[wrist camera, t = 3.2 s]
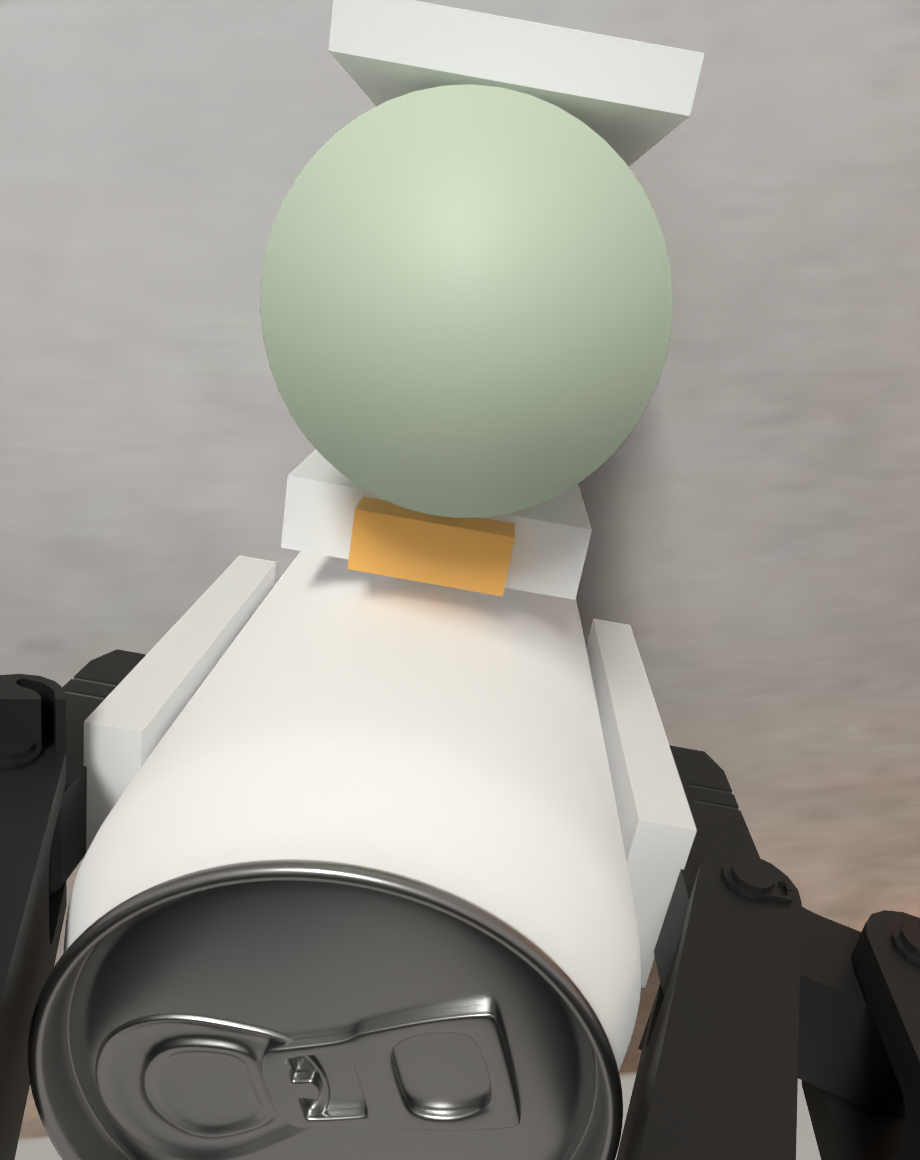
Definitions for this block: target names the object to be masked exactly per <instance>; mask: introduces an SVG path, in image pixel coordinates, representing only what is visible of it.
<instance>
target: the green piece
mask: <svg viewBox="0 0 920 1160" xmlns="http://www.w3.org/2000/svg"><path fill="white" fill-rule="evenodd" d="M260 312H261V321H262V331H263V340H264V344H265V348H266V352H267V357H268V361H269V365H270V368H271V371H272V374H273V376H274V379H275V382H276V385H277V387H278V390H279V392H280V394H281V396H282V398H283V400H284V402H285V404H286V406H287V408H288V410H289V412H290V414H291V416H292V417H293V419H294V420H295V422H296V423H297V425H298V426H299V428H300V429H301V431H302V432H303V434H304V435H305V437H306V438H307V439H308V440H309V441H310V442H311V444H312V445H313V446H314V447H315V448H316V449H317V451H318V452H319V453H320V454H321V455H322V456H323V457H324V458H325V459H326V460H327V461H328V462H329V463H330V464H331V465H333V466H334V467H335V468H336V469H337V470H338V471H339V472H340V473H341V474H343V475H344V476H346V477H347V478H348V479H350V480H351V481H353V482H354V483H356V484H357V485H358V486H360V487H361V488H363V489H364V490H366V491H368V492H370V493H372V494H374V495H376V496H378V497H380V498H381V499H383V500H385V501H388V502H391V503H393V504H396V505H398V506H401V507H404V508H406V509H409V510H413V511H418V512H422V513H426V514H430V515H436V516H445V517H454V518H482V517H489V516H496V515H504V514H509V513H512V512H516V511H520V510H523V509H527V508H531V507H533V506H535V505H538V504H540V503H543V502H545V501H548V500H550V499H552V498H555V497H556V496H558V495H560V494H562V493H563V492H565V491H567V490H569V489H570V488H572V487H574V486H576V485H577V484H578V483H580V482H581V481H582V480H584V479H585V478H586V477H588V476H589V475H590V474H592V473H593V472H594V471H596V470H597V469H598V468H599V467H600V466H601V465H602V464H603V463H604V462H605V461H606V460H607V459H608V458H609V457H611V456H612V455H613V454H614V453H615V452H616V450H617V449H618V448H619V447H620V446H621V444H622V443H623V442H624V441H625V439H626V438H627V437H628V436H629V434H630V433H631V432H632V431H633V429H634V427H635V426H636V424H637V423H638V421H639V419H640V418H641V416H642V414H643V413H644V411H645V410H646V408H647V406H648V404H649V402H650V399H651V397H652V395H653V393H654V391H655V388H656V386H657V384H658V381H659V378H660V375H661V372H662V369H663V366H664V363H665V359H666V356H667V351H668V345H669V340H670V334H671V329H672V312H673V290H672V275H671V267H670V262H669V258H668V253H667V248H666V243H665V239H664V237H663V234H662V231H661V228H660V225H659V222H658V219H657V216H656V213H655V211H654V209H653V207H652V205H651V203H650V201H649V199H648V197H647V195H646V193H645V191H644V189H643V187H642V186H641V184H640V183H639V182H638V180H637V179H636V177H635V176H634V174H633V173H632V171H631V170H630V168H629V167H628V165H627V164H626V163H625V161H624V160H623V159H622V158H621V157H620V156H619V155H618V154H617V153H616V152H615V150H614V149H613V148H612V147H611V146H610V145H609V144H608V143H607V142H606V141H605V140H604V139H603V138H602V137H601V136H599V135H598V134H597V133H596V132H595V131H593V130H592V129H591V128H590V127H588V126H587V125H586V124H585V123H584V122H582V121H581V120H579V119H577V118H576V117H574V116H572V115H571V114H569V113H568V112H566V111H564V110H563V109H561V108H559V107H558V106H556V105H553V104H551V103H548V102H546V101H544V100H541V99H539V98H537V97H534V96H532V95H529V94H525V93H522V92H518V91H514V90H510V89H506V88H502V87H494V86H484V85H474V84H468V85H446V86H439V87H434V88H428V89H423V90H418V91H414V92H411V93H408V94H405V95H402V96H400V97H397V98H394V99H391V100H388V101H386V102H384V103H382V104H380V105H378V106H377V107H375V108H373V109H371V110H369V111H367V112H365V113H363V114H362V115H360V116H359V117H357V118H356V119H354V120H353V121H352V122H350V123H349V124H348V125H346V126H345V127H344V128H342V129H341V130H339V131H338V132H337V133H336V134H335V135H334V136H333V137H332V138H331V139H330V140H329V141H328V142H327V143H326V144H324V145H323V146H322V147H321V148H320V149H319V150H318V151H317V152H316V153H315V155H314V156H313V157H312V159H311V160H310V161H309V162H308V164H307V165H306V166H305V168H304V169H303V170H302V171H301V173H300V174H299V175H298V177H297V179H296V180H295V182H294V184H293V185H292V187H291V189H290V191H289V192H288V194H287V196H286V198H285V199H284V201H283V203H282V206H281V208H280V211H279V213H278V215H277V218H276V220H275V223H274V225H273V227H272V231H271V235H270V238H269V242H268V246H267V249H266V253H265V258H264V265H263V272H262V279H261V309H260Z"/></svg>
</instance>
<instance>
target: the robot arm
mask: <svg viewBox="0 0 920 1160" xmlns="http://www.w3.org/2000/svg"><path fill="white" fill-rule="evenodd" d="M275 572H276V562H274V561H268V560H263V559H257V558H252V557H246V556H240V555H239V556H238V557H237V558H236V560H235V561H234V562H233V563H232V564H231V565H230V566H229V567H228V568H227V569H226V570H225V571H224V572H223V573H222V574H221V576H220V577H219V578H218V579H217V580H216V581H215V582H214V583H213V584H212V585H211V586H210V587H209V588H208V589H207V591H206V592H205V593H204V594H203V595H202V596H201V597H200V598H199V599H198V600H197V601H196V602H195V603H194V604H193V605H192V607H191V608H190V609H189V610H188V611H187V612H186V613H185V614H184V615H183V616H182V617H181V618H180V619H179V620H178V622H177V623H176V624H175V625H174V626H173V627H172V628H171V629H170V630H169V631H168V632H167V633H166V634H165V635H164V636H163V638H162V639H161V640H160V641H159V642H158V643H157V644H156V645H155V646H154V647H153V648H152V649H151V650H150V651H149V653H148V654H147V655H145V654H139V653H134V652H128V651H123V650H115V651H112V652H110V653H108V654H105V655H103V656H101V657H98V658H96V659H94V660H91V661H90V662H89V663H88V664H87V665H86V666H85V667H84V668H83V669H82V670H80V671H79V672H78V673H77V674H76V675H75V676H74V680H73V679H71V680H70V681H69V682H68V683H67V684H66V685H65V686H63V687H61V686H60V685H59V684H58V683H56V682H55V681H52V680H49V679H47V678H44V677H41V676H34V675H25V674H12V675H0V1160H14V1159H15V1154H16V1149H17V1144H18V1139H19V1135H20V1130H21V1125H22V1120H23V1115H24V1110H25V1105H26V1100H27V1095H28V1091H29V1086H30V1078H29V1069H28V1040H29V1032H30V1026H31V1021H32V1017H33V1013H34V1009H35V1006H36V1003H37V1001H38V998H39V995H40V993H41V991H42V988H43V986H44V984H45V982H46V980H47V978H48V977H49V975H50V973H51V972H52V970H53V968H54V964H55V959H56V954H57V949H58V944H59V939H60V934H61V929H62V925H63V920H64V915H65V910H66V880H67V879H68V877H69V876H70V875H71V873H72V872H73V870H74V869H75V868H76V866H77V865H78V864H79V862H80V861H81V859H82V858H83V859H84V857H85V855H86V853H87V851H88V849H89V847H90V845H91V843H92V842H93V840H94V838H95V836H96V834H97V832H98V831H99V829H100V827H101V825H102V824H103V822H104V821H105V819H106V818H107V816H108V815H109V813H110V812H111V810H112V809H113V807H114V806H115V804H116V803H117V801H118V800H119V798H120V797H121V795H122V794H123V792H124V791H125V789H126V788H127V786H128V785H129V784H130V782H131V781H132V779H133V778H134V777H135V775H136V774H137V772H138V771H139V770H140V768H141V767H142V765H143V764H144V763H145V761H146V760H147V758H148V757H149V756H150V754H151V753H152V751H153V750H154V749H155V747H156V746H157V745H158V743H159V742H160V740H161V739H162V738H163V736H164V735H165V733H166V732H167V731H168V729H169V728H170V727H171V725H172V724H173V723H174V721H175V720H176V718H177V717H178V716H179V714H180V713H181V712H182V710H183V709H184V708H185V706H186V705H187V703H188V702H189V701H190V699H191V698H192V697H193V695H194V694H195V692H196V691H197V690H198V688H199V687H200V686H201V684H202V683H203V682H204V680H205V679H206V677H207V676H208V675H209V673H210V672H211V671H212V669H213V668H214V667H215V665H216V664H217V663H218V661H219V660H220V658H221V657H222V656H223V654H224V653H225V652H226V650H227V649H228V648H229V646H230V645H231V644H232V642H233V641H234V640H235V638H236V637H237V635H238V634H239V633H240V631H241V630H242V629H243V627H244V626H245V625H246V623H247V622H248V621H249V619H250V618H251V617H252V615H253V614H254V613H255V611H256V610H257V609H258V607H259V606H260V605H261V603H262V602H263V600H264V599H265V598H266V596H267V595H268V594H269V592H270V591H271V590H272V588H273V587H274V583H275ZM586 650H587V655H588V660H589V665H590V670H591V675H592V680H593V685H594V690H595V695H596V701H597V706H598V711H599V716H600V721H601V727H602V732H603V737H604V742H605V747H606V753H607V758H608V763H609V768H610V774H611V779H612V784H613V790H614V795H615V800H616V806H617V811H618V816H619V822H620V827H621V832H622V838H623V843H624V849H625V855H626V860H627V866H628V871H629V877H630V883H631V888H632V894H633V900H634V907H635V913H636V920H637V927H638V934H639V942H640V959H641V987H642V988H645V987H646V984H647V981H648V978H649V975H650V971H651V968H652V965H653V962H654V959H655V958H656V963H657V968H658V973H659V978H660V982H661V983H660V986H659V989H658V992H657V995H656V998H655V1001H654V1004H653V1007H652V1010H651V1013H650V1016H649V1019H648V1022H647V1025H646V1028H645V1031H644V1034H643V1037H642V1040H641V1043H640V1046H639V1049H640V1050H642V1053H641V1057H640V1062H639V1066H638V1070H637V1074H636V1079H635V1083H634V1087H633V1092H632V1096H631V1100H630V1104H629V1108H628V1113H627V1117H626V1121H625V1126H624V1130H623V1134H622V1138H621V1143H620V1147H619V1151H618V1155H617V1159H616V1160H796V1126H797V1081H798V1078H799V1079H801V1080H802V1087H803V1091H804V1095H805V1098H806V1102H807V1106H808V1110H809V1114H810V1118H811V1121H812V1125H813V1129H814V1133H815V1137H816V1141H817V1144H818V1149H819V1152H820V1156H821V1160H920V918H918V917H915V916H912V915H909V914H906V913H904V912H895V911H886V910H884V911H881V912H878V913H874V914H872V915H871V916H870V917H869V919H868V920H867V922H866V923H865V926H864V928H863V930H862V932H859V931H857V930H854V929H852V928H849V927H847V926H844V925H842V924H839V923H837V922H834V921H832V920H829V919H827V918H824V917H822V916H820V915H817V914H815V913H813V912H811V911H809V910H807V909H805V908H804V907H802V906H801V905H802V903H801V899H800V896H799V892H798V889H797V888H796V887H795V885H794V884H793V883H792V882H791V880H790V879H789V878H788V876H786V875H785V874H784V873H783V872H781V871H780V870H779V869H777V868H776V867H775V866H774V865H772V864H770V863H768V862H766V861H764V860H762V859H760V857H759V854H758V852H757V850H756V847H755V845H754V842H753V840H752V838H751V835H750V833H749V830H748V828H747V826H746V823H745V821H744V818H743V816H742V814H741V811H739V810H738V807H739V806H738V804H737V802H736V799H735V797H734V794H732V790H731V787H730V785H729V782H728V780H727V778H726V775H725V773H724V771H723V770H722V769H721V768H720V767H719V766H718V765H717V764H716V763H715V762H714V761H713V760H712V759H711V758H710V757H709V756H708V755H707V754H706V753H705V752H703V751H697V750H692V749H686V748H680V747H675V746H669V743H668V740H667V737H666V734H665V731H664V728H663V725H662V722H661V718H660V715H659V712H658V709H657V706H656V703H655V700H654V697H653V694H652V691H651V688H650V685H649V682H648V678H647V675H646V672H645V669H644V666H643V663H642V660H641V657H640V654H639V651H638V648H637V645H636V642H635V638H634V635H633V632H632V629H631V626H630V625H627V624H622V623H616V622H610V621H605V620H599V619H594V618H593V622H592V626H591V630H590V634H589V638H588V642H587V646H586Z"/></svg>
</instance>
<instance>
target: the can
mask: <svg viewBox="0 0 920 1160" xmlns="http://www.w3.org/2000/svg"><path fill="white" fill-rule="evenodd" d="M347 568H348V559H343V558H337V557H332V556H326V555H320V554H315V553H309V552H304V551H300V553H299V554H298V555H297V557H296V558H295V559H294V560H293V562H292V563H291V564H290V566H289V567H288V568H287V570H286V571H285V572H284V574H283V575H282V576H281V578H280V579H279V580H278V582H277V583H276V584H275V586H274V587H273V588H272V590H271V591H270V592H269V594H268V595H267V596H266V598H265V599H264V600H263V602H262V603H261V605H260V606H259V607H258V609H257V610H256V611H255V613H254V614H253V615H252V617H251V618H250V619H249V621H248V622H247V623H246V625H245V626H244V627H243V629H242V630H241V631H240V633H239V634H238V635H237V637H236V638H235V640H234V641H233V642H232V644H231V645H230V646H229V648H228V649H227V650H226V652H225V653H224V654H223V656H222V657H221V658H220V660H219V661H218V663H217V664H216V665H215V667H214V668H213V669H212V671H211V672H210V673H209V675H208V676H207V677H206V679H205V680H204V682H203V683H202V684H201V686H200V687H199V688H198V690H197V691H196V692H195V694H194V695H193V697H192V698H191V699H190V701H189V702H188V703H187V705H186V706H185V708H184V709H183V710H182V712H181V713H180V714H179V716H178V717H177V718H176V720H175V721H174V723H173V724H172V725H171V727H170V728H169V729H168V731H167V732H166V733H165V735H164V736H163V738H162V739H161V740H160V742H159V743H158V745H157V746H156V747H155V749H154V750H153V751H152V753H151V754H150V756H149V757H148V758H147V760H146V761H145V763H144V764H143V765H142V767H141V768H140V770H139V771H138V772H137V774H136V775H135V777H134V778H133V779H132V781H131V782H130V784H129V785H128V786H127V788H126V789H125V791H124V792H123V794H122V795H121V797H120V798H119V800H118V801H117V803H116V804H115V806H114V807H113V809H112V810H111V812H110V813H109V815H108V816H107V818H106V819H105V821H104V822H103V824H102V825H101V827H100V829H99V831H98V832H97V834H96V836H95V838H94V840H93V842H92V843H91V845H90V847H89V849H88V851H87V853H86V855H85V857H84V859H83V861H82V864H81V866H80V868H79V871H78V874H77V876H76V879H75V882H74V886H73V890H72V894H71V898H70V903H69V908H68V913H67V920H66V929H65V940H64V954H63V955H62V957H61V958H60V959H59V961H58V962H57V964H56V965H55V967H54V968H53V970H52V972H51V973H50V975H49V977H48V978H47V980H46V982H45V984H44V986H43V988H42V991H41V993H40V995H39V998H38V1001H37V1003H36V1006H35V1009H34V1013H33V1017H32V1021H31V1026H30V1032H29V1040H28V1069H29V1078H30V1084H31V1089H32V1094H33V1097H34V1101H35V1105H36V1107H37V1110H38V1113H39V1116H40V1119H41V1121H42V1123H43V1126H44V1128H45V1130H46V1132H47V1134H48V1136H49V1138H50V1140H51V1142H52V1144H53V1145H54V1147H55V1149H56V1150H57V1151H58V1154H59V1155H60V1157H61V1158H62V1159H63V1160H615V1157H616V1154H617V1150H618V1146H619V1141H620V1136H621V1129H622V1118H623V1100H622V1088H621V1081H620V1076H619V1070H620V1068H621V1065H622V1063H623V1061H624V1058H625V1055H626V1052H627V1049H628V1046H629V1044H630V1041H631V1038H632V1034H633V1030H634V1026H635V1022H636V1018H637V1013H638V1008H639V1002H640V993H641V959H640V942H639V934H638V927H637V920H636V913H635V907H634V900H633V894H632V888H631V883H630V877H629V871H628V866H627V860H626V855H625V849H624V843H623V838H622V832H621V827H620V822H619V816H618V811H617V806H616V800H615V795H614V790H613V784H612V779H611V774H610V768H609V763H608V758H607V753H606V747H605V742H604V737H603V732H602V727H601V721H600V716H599V711H598V706H597V701H596V695H595V690H594V685H593V680H592V675H591V670H590V665H589V660H588V655H587V650H586V645H585V640H584V635H583V630H582V625H581V620H580V615H579V611H578V606H577V602H576V600H573V599H567V598H561V597H556V596H550V595H545V594H539V593H533V592H528V591H522V590H517V589H511V588H504V593H503V597H502V596H496V595H490V594H485V593H479V592H474V591H468V590H462V589H457V588H451V587H445V586H440V585H434V584H429V583H423V582H417V581H412V580H406V579H401V578H395V577H389V576H384V575H378V574H373V573H367V572H361V571H356V570H350V569H347Z"/></svg>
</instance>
